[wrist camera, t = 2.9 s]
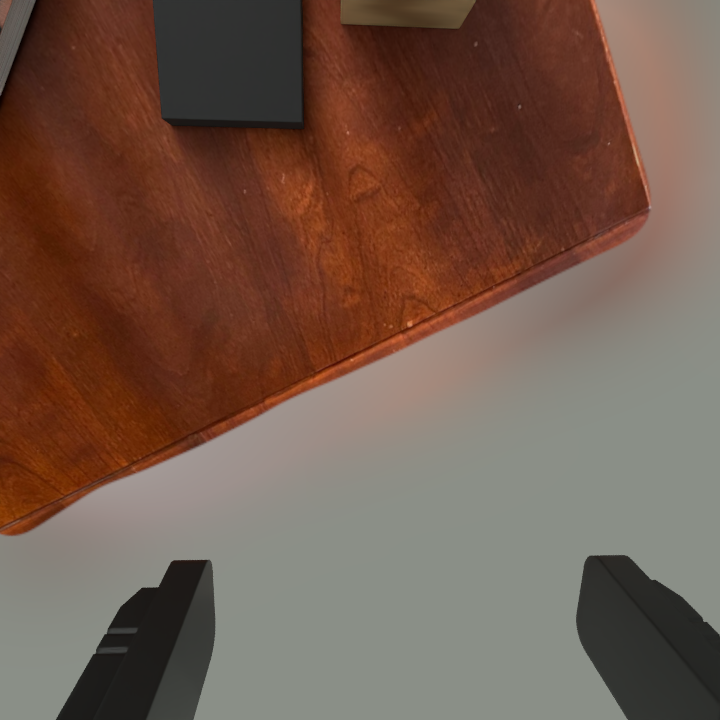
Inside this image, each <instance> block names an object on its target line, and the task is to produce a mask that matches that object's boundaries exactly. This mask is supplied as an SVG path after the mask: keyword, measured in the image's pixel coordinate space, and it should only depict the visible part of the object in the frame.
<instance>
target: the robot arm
mask: <svg viewBox="0 0 720 720" xmlns="http://www.w3.org/2000/svg"><path fill="white" fill-rule="evenodd" d="M576 623H577V630H578V635H579V638H580V641H581V644H582V646H583V648H584V649H585V651H586V653H587V655H588V656H589V658H590V660H591V661H592V662H593V664H594V666H595V668H596V669H597V671H598V672H599V674H600V676H601V677H602V679H603V680H604V682H605V684H606V685H607V687H608V688H609V690H610V692H611V693H612V695H613V697H614V698H615V700H616V701H617V703H618V705H619V706H620V708H621V709H622V711H623V713H624V714H625V716H626V718H627V719H628V720H720V636H719V634H718V633H717V632H716V631H715V630H714V629H713V628H712V627H711V626H710V625H709V624H708V623H707V622H703V619H702V617H701V616H700V615H699V614H698V613H697V612H696V611H695V610H694V609H693V608H692V607H691V606H690V605H689V604H688V603H687V602H686V601H685V600H684V599H683V598H682V597H681V596H680V595H678V594H676V593H675V592H673V591H672V590H670V589H669V588H667V587H666V586H664V585H663V584H661V583H659V582H658V581H656V580H651V579H649V577H648V576H647V575H646V574H645V573H644V572H643V571H642V570H641V569H640V568H639V567H638V566H637V565H636V564H635V563H634V562H633V561H632V560H631V559H630V558H629V557H628V556H625V555H608V556H607V555H603V556H589V557H588V558H587V559H586V561H585V564H584V570H583V576H582V583H581V589H580V596H579V602H578V608H577V617H576ZM214 637H215V607H214V588H213V570H212V563H211V561H210V560H174V561H172V562H171V564H170V566H169V567H168V569H167V571H166V573H165V575H164V577H163V579H162V582H161V583H160V585H159V587H158V588H157V587H156V588H141V589H140V590H139V591H138V592H137V593H136V594H135V595H134V596H132V597H131V598H130V599H129V600H128V601H127V602H126V603H125V604H123V605H122V606H121V607H120V609H119V611H118V612H117V614H116V616H115V618H114V619H113V621H112V623H111V625H110V626H109V628H108V631H107V634H105V635H104V637H103V638H102V640H101V642H100V644H99V646H98V647H97V649H96V654H93V656H92V658H91V660H90V661H89V663H88V665H87V666H86V668H85V670H84V672H83V674H82V675H81V677H80V679H79V680H78V682H77V684H76V686H75V687H74V689H73V691H72V692H71V695H70V696H69V698H68V699H67V701H66V703H65V705H64V706H63V708H62V710H61V712H60V714H59V715H58V717H57V719H56V720H193V719H194V715H195V712H196V708H197V705H198V702H199V698H200V695H201V691H202V687H203V684H204V681H205V677H206V674H207V670H208V666H209V663H210V660H211V656H212V651H213V646H214Z"/></svg>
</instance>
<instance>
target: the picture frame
mask: <svg viewBox="0 0 720 720" xmlns="http://www.w3.org/2000/svg"><path fill="white" fill-rule="evenodd" d="M35 1H36V0H0V96H1V93H2V90H3V88H4V85H5V82H6V80H7V77H8V74H9V71H10V69H11V66H12V63H13V61H14V58H15V55H16V52H17V50H18V47H19V44H20V42H21V39H22V36H23V33H24V31H25V28H26V25H27V23H28V20H29V17H30V14H31V12H32V9H33V6H34V4H35Z"/></svg>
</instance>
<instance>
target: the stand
mask: <svg viewBox="0 0 720 720" xmlns="http://www.w3.org/2000/svg"><path fill="white" fill-rule="evenodd" d="M475 2H476V0H341V24H353V25H377V26H401V27H425V28H449V29H459V28H460V26H461V25H462V23H463V22H464V20H465V18H466V17H467V15H468V13H469V12H470V10H471V8H472V7H473V5H474V3H475Z"/></svg>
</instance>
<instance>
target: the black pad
mask: <svg viewBox="0 0 720 720" xmlns="http://www.w3.org/2000/svg"><path fill="white" fill-rule="evenodd" d="M153 8H154V21H155V35H156V48H157V61H158V74H159V87H160V101H161V114H162V119H164V120H165V121H166V122H168V123H169V124H171V125H175V126H210V127H245V128H280V129H304V89H303V6H302V0H153Z"/></svg>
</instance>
